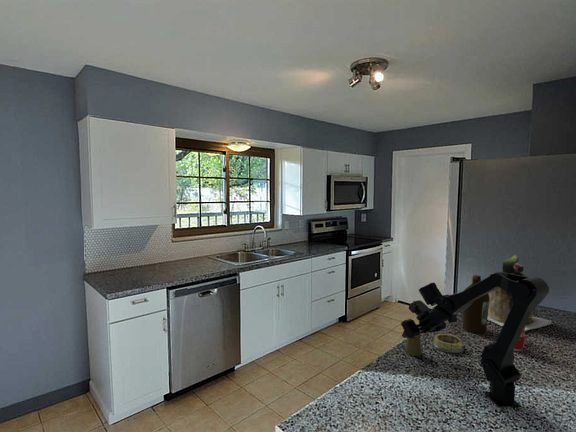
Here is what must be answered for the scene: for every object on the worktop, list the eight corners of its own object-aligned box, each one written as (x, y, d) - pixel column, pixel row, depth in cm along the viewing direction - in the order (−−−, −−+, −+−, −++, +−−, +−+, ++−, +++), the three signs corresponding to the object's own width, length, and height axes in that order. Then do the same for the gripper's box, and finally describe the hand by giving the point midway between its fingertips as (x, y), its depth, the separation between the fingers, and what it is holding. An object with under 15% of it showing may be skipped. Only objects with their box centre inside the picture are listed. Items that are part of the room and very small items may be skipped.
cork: (423, 357, 124) (424, 328, 124) (406, 355, 125) (407, 327, 125) (420, 349, 130) (420, 322, 129) (403, 348, 131) (404, 321, 131)
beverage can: (505, 349, 130) (507, 320, 130) (503, 343, 136) (505, 315, 135) (524, 353, 127) (526, 323, 127) (522, 346, 133) (523, 318, 132)
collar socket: (469, 353, 127) (469, 345, 127) (441, 353, 127) (441, 345, 127) (453, 340, 138) (454, 333, 138) (428, 340, 138) (428, 333, 138)
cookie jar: (470, 315, 167) (473, 253, 165) (500, 308, 178) (504, 250, 175) (522, 334, 145) (526, 263, 143) (553, 325, 155) (557, 258, 153)
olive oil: (457, 329, 150) (460, 275, 148) (465, 323, 157) (468, 271, 155) (483, 336, 142) (486, 280, 140) (490, 330, 149) (493, 275, 148)
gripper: (440, 292, 127) (416, 311, 138) (405, 299, 118) (383, 319, 129) (458, 319, 121) (431, 337, 131) (423, 329, 112) (397, 346, 123)
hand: (411, 334), depth 129 cm, fingers open, 9 cm apart
